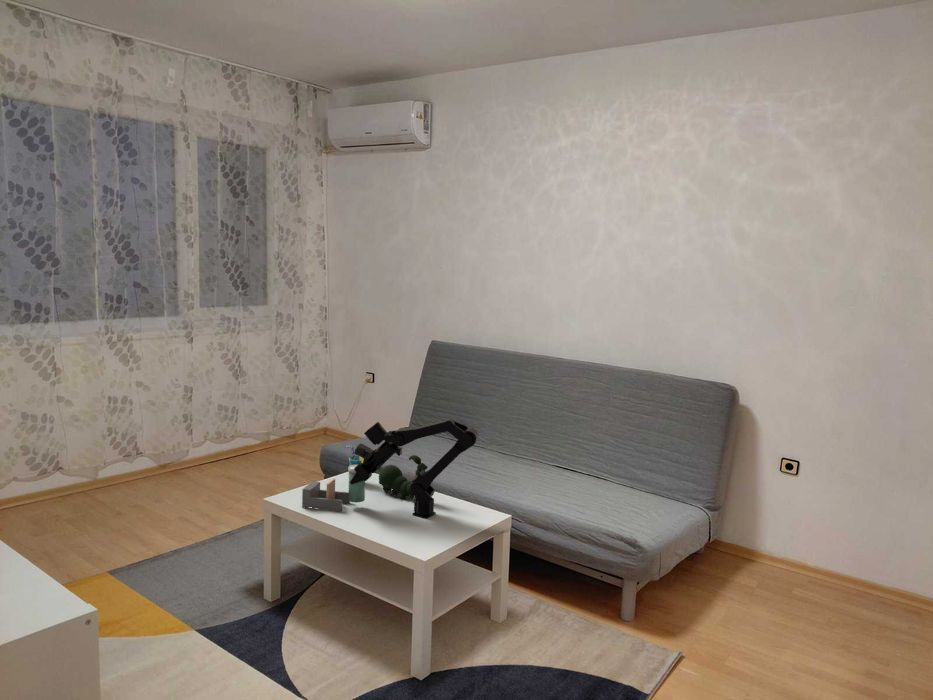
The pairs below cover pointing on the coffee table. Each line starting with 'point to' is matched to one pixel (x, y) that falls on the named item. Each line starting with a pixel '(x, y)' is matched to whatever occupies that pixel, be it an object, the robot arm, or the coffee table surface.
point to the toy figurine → (398, 478)
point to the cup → (355, 458)
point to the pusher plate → (331, 490)
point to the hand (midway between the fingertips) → (353, 480)
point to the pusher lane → (322, 498)
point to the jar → (355, 487)
